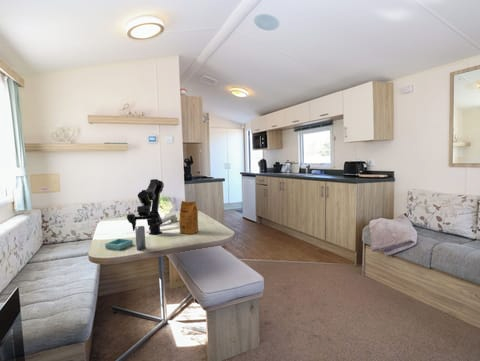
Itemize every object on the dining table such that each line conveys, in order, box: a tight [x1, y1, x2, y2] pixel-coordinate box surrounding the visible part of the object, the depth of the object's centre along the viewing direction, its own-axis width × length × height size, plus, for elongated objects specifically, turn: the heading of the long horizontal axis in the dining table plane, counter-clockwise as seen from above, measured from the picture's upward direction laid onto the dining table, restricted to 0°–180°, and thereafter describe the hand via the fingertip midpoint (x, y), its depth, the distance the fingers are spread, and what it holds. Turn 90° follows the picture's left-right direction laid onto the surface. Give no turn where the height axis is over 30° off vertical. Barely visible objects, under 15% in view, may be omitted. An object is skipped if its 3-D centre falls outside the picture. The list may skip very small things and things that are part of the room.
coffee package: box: [179, 200, 199, 235], centre depth 195 cm, size 10×12×22 cm
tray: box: [104, 238, 134, 251], centre depth 169 cm, size 11×11×3 cm
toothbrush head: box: [161, 213, 178, 224], centre depth 222 cm, size 5×7×25 cm
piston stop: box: [134, 225, 147, 252], centre depth 163 cm, size 5×5×13 cm
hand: (141, 230), depth 165 cm, fingers open, 9 cm apart
